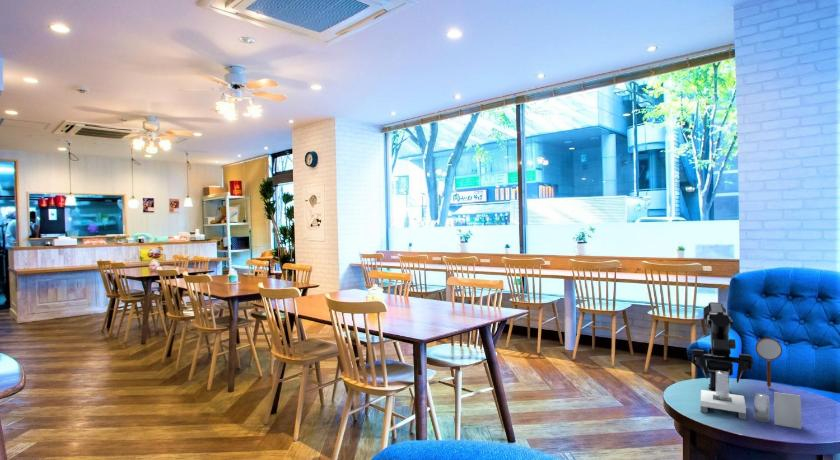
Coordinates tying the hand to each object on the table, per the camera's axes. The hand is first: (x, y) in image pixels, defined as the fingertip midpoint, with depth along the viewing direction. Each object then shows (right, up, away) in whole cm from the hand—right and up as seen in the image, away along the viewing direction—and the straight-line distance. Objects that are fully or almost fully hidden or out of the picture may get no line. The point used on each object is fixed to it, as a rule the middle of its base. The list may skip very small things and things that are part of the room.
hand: (722, 380), depth 168 cm
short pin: (+7, -10, -10) cm, 16 cm away
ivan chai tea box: (+12, -10, -14) cm, 21 cm away
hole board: (-1, -10, -1) cm, 10 cm away
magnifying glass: (+31, -10, +20) cm, 38 cm away
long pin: (0, -10, -1) cm, 10 cm away
